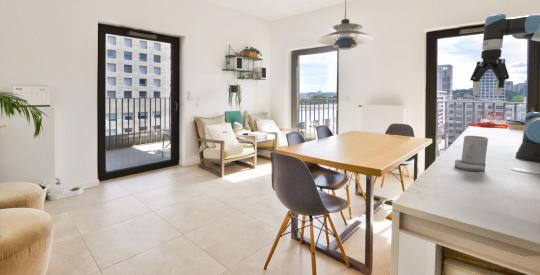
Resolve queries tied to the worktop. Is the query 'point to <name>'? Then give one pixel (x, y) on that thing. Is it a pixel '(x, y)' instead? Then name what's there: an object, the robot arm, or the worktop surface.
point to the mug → (474, 149)
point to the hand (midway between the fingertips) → (486, 94)
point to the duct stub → (469, 166)
